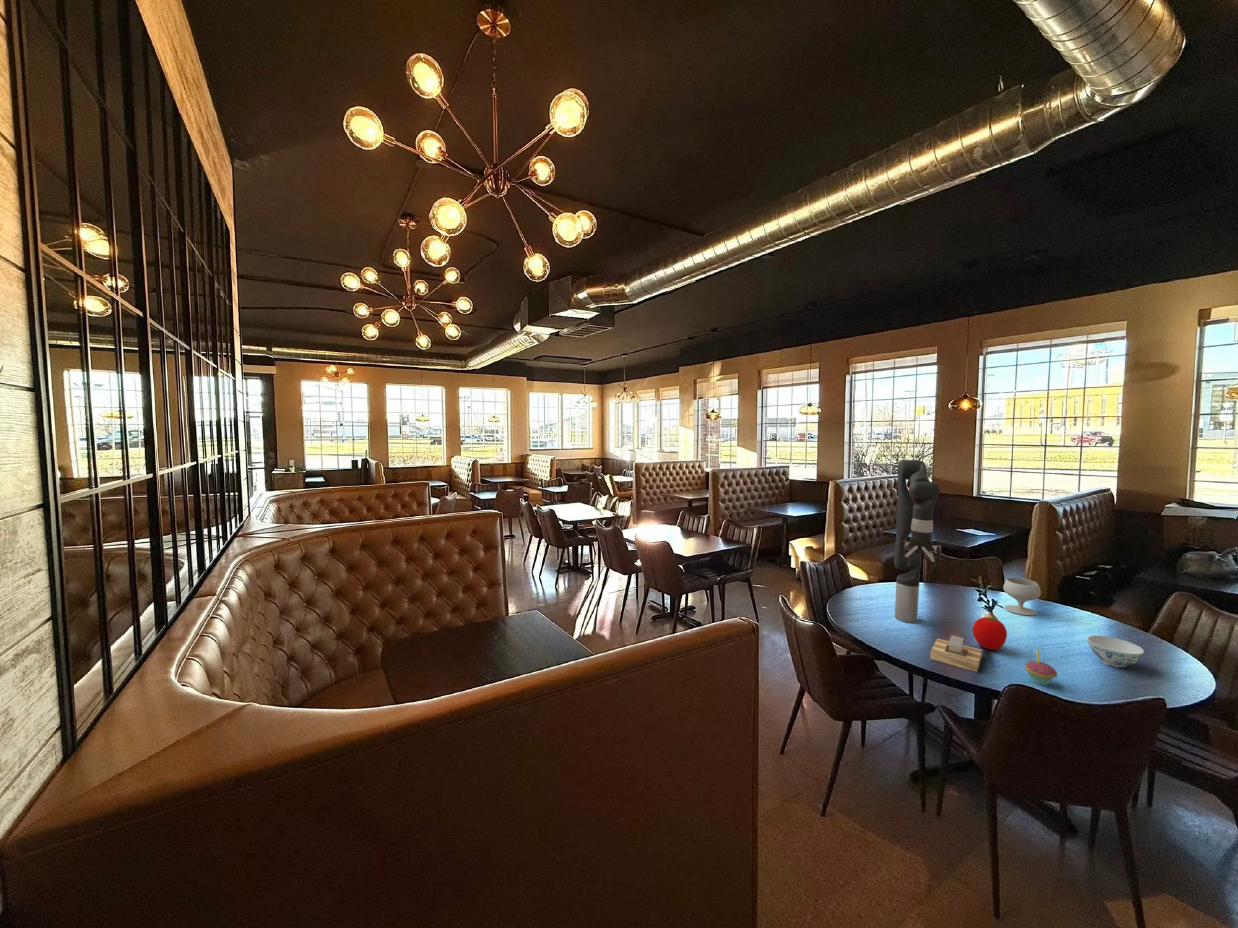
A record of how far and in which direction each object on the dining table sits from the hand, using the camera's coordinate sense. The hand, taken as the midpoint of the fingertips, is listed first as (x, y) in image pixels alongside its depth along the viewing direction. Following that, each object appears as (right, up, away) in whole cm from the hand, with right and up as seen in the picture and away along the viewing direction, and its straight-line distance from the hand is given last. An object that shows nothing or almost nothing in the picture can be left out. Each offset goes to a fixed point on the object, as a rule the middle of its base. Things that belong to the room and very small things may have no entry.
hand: (919, 567), depth 198 cm
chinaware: (+66, -34, -14) cm, 76 cm away
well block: (+8, -34, -10) cm, 36 cm away
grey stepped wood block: (+8, -34, -9) cm, 36 cm away
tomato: (+28, -33, -1) cm, 43 cm away
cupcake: (+26, -36, -27) cm, 52 cm away
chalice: (+72, -29, +35) cm, 85 cm away
